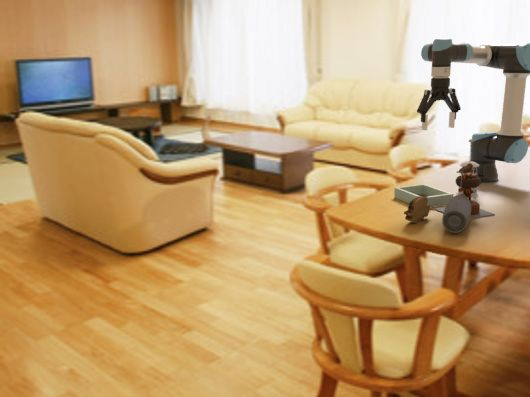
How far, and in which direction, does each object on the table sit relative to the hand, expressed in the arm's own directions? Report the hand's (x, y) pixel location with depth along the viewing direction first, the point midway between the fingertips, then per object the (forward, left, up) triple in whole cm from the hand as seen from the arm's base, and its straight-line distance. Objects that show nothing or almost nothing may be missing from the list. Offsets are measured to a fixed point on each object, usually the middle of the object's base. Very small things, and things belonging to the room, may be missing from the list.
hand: (438, 128), depth 245 cm
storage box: (+6, 0, -31) cm, 31 cm away
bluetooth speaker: (+17, +36, -31) cm, 50 cm away
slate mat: (+2, +22, -31) cm, 38 cm away
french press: (-18, 0, -31) cm, 36 cm away
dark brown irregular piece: (+1, +22, -30) cm, 38 cm away
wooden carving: (+26, +24, -31) cm, 47 cm away
